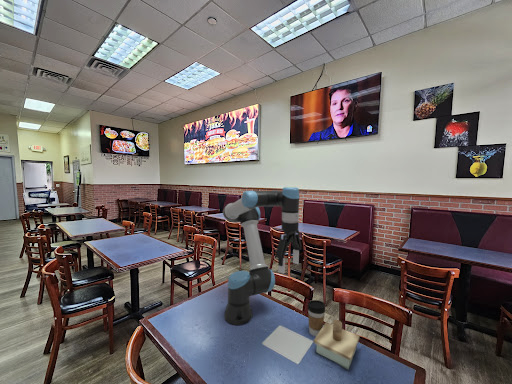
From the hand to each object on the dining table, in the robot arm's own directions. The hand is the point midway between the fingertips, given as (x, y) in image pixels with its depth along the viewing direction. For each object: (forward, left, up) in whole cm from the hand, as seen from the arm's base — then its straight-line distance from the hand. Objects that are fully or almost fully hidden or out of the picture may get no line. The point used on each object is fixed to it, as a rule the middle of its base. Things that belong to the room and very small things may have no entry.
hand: (288, 267), depth 98 cm
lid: (+20, +8, -30) cm, 37 cm away
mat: (+1, -1, -35) cm, 35 cm away
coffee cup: (+8, +13, -35) cm, 38 cm away
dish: (+20, +8, -35) cm, 41 cm away
